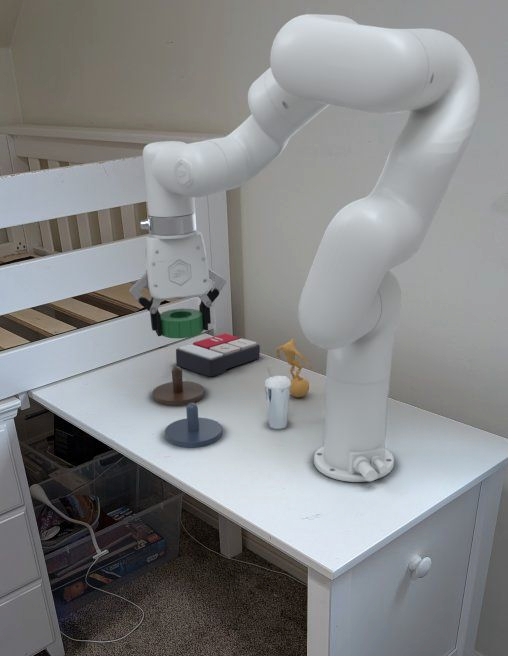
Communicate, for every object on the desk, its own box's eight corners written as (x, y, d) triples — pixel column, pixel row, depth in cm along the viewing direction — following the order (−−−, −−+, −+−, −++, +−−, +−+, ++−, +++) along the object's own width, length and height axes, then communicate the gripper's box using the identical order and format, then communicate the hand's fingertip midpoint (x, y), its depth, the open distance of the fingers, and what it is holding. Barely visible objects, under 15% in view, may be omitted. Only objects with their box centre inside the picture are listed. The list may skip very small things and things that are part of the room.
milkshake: (280, 416, 136) (280, 364, 131) (295, 427, 132) (295, 374, 127) (258, 421, 134) (257, 369, 129) (272, 433, 130) (272, 379, 125)
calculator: (260, 341, 161) (210, 357, 151) (260, 360, 163) (210, 377, 153) (225, 331, 167) (174, 345, 158) (225, 349, 169) (175, 365, 160)
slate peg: (228, 442, 127) (227, 410, 124) (171, 451, 125) (168, 419, 122) (214, 419, 136) (212, 388, 133) (160, 427, 134) (157, 396, 131)
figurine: (321, 399, 142) (323, 338, 136) (300, 408, 138) (300, 347, 133) (290, 387, 147) (290, 329, 141) (268, 396, 144) (267, 337, 138)
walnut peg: (209, 401, 143) (207, 372, 140) (158, 408, 141) (155, 379, 138) (197, 382, 151) (195, 354, 148) (149, 389, 149) (146, 361, 146)
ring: (207, 335, 127) (206, 318, 125) (164, 340, 125) (162, 323, 124) (198, 323, 133) (197, 306, 132) (157, 328, 132) (155, 311, 130)
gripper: (122, 234, 116) (134, 344, 124) (230, 224, 119) (235, 331, 128) (116, 226, 122) (129, 331, 131) (219, 216, 125) (225, 319, 134)
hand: (181, 330), depth 129 cm, fingers closed on ring, 7 cm apart
